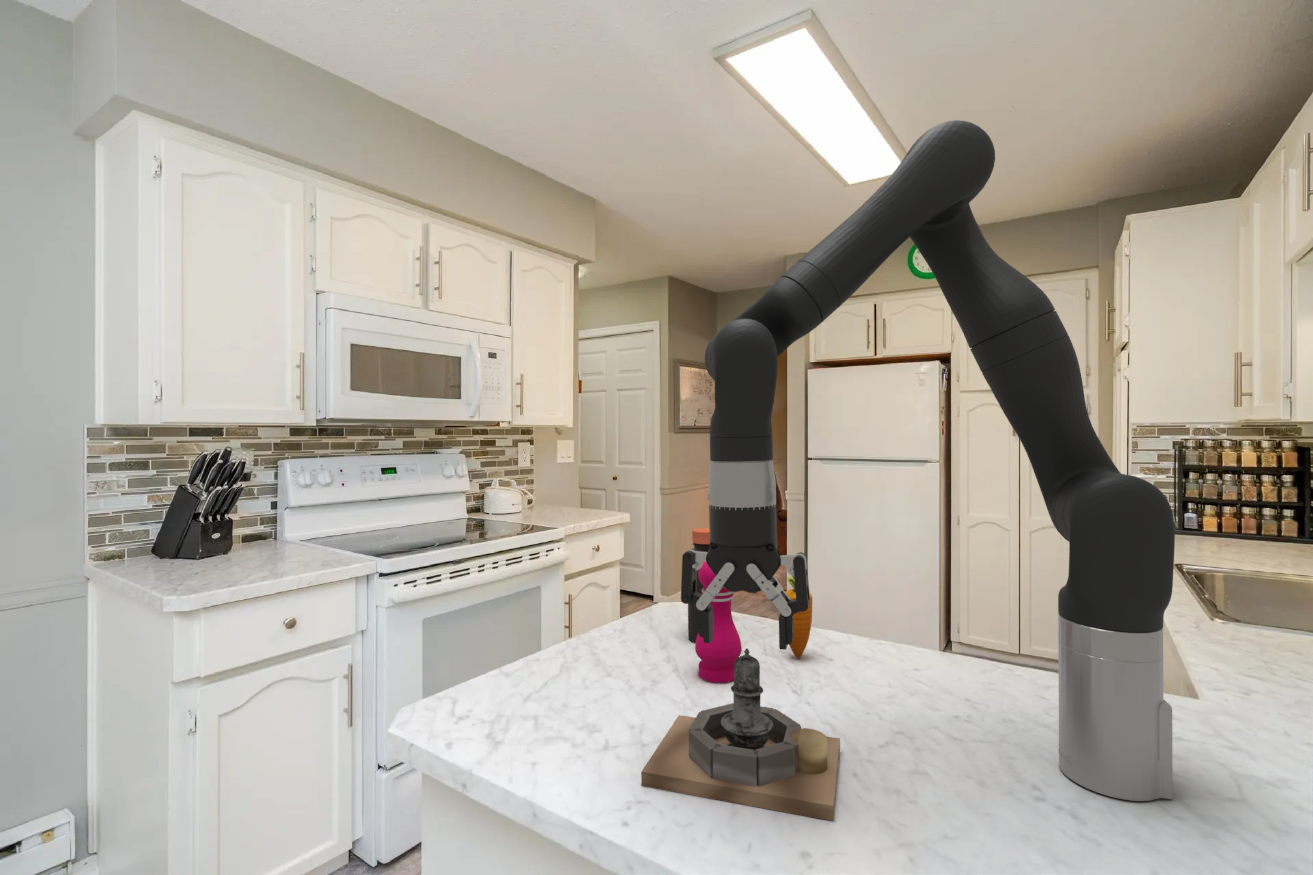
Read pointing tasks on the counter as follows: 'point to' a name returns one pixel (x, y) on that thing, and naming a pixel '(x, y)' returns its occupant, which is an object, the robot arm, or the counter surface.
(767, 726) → the salt shaker
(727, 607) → the pepper mill
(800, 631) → the carrot
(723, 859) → the counter surface
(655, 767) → the board
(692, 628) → the bottle
